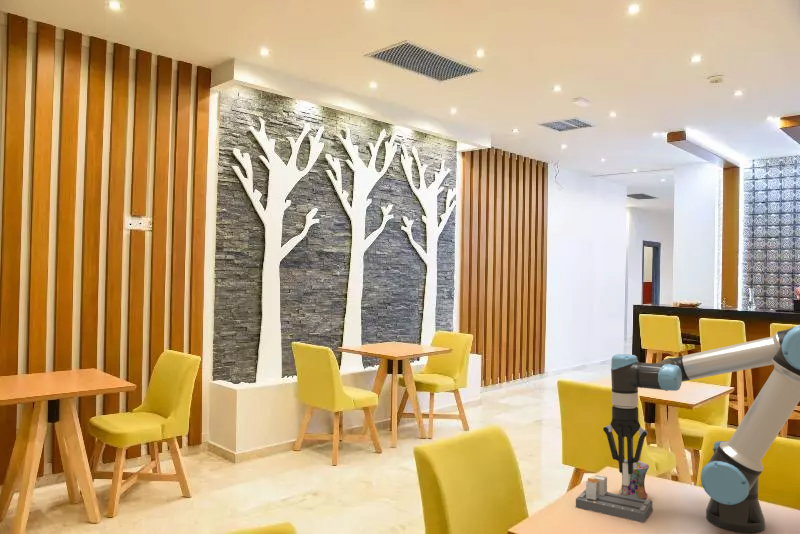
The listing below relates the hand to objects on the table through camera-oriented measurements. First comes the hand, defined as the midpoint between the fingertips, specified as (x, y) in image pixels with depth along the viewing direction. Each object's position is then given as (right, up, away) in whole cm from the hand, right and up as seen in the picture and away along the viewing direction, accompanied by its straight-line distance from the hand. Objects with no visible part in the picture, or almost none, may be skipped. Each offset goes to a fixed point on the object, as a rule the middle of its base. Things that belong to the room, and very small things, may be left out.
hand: (626, 484), depth 185 cm
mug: (+7, -9, +15) cm, 19 cm away
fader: (-9, -6, +4) cm, 11 cm away
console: (-3, -9, +3) cm, 10 cm away
